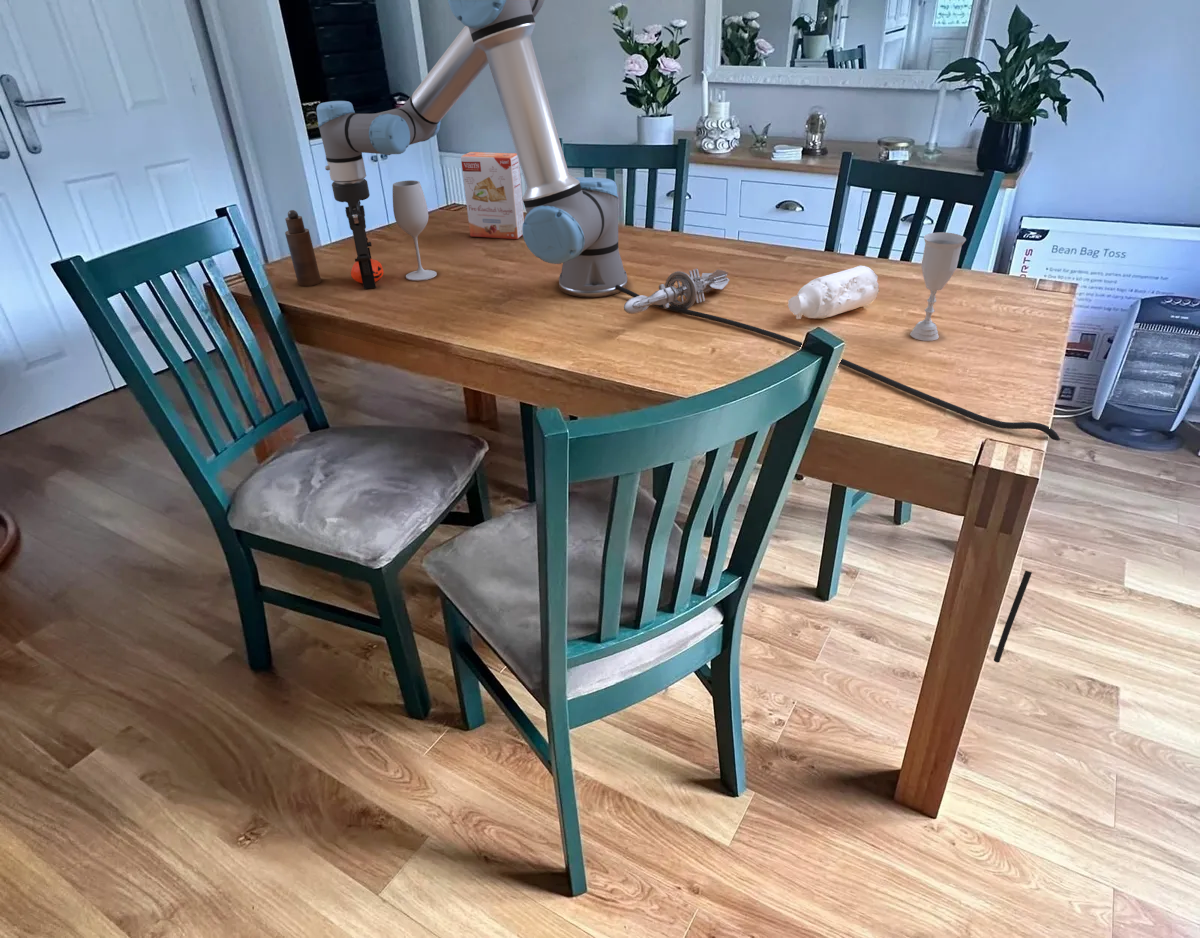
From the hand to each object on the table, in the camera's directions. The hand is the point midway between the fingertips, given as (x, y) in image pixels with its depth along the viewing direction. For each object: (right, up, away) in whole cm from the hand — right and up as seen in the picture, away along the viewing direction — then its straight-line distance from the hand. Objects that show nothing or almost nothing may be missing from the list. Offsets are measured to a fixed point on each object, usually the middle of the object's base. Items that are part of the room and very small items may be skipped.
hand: (369, 281), depth 179 cm
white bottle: (+100, -13, -27) cm, 105 cm away
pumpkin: (0, 0, 0) cm, 0 cm away
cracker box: (+26, +19, +29) cm, 43 cm away
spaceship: (+70, -11, -21) cm, 74 cm away
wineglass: (+12, +2, +3) cm, 12 cm away
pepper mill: (-15, 0, +1) cm, 15 cm away
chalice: (+114, -19, -36) cm, 121 cm away
